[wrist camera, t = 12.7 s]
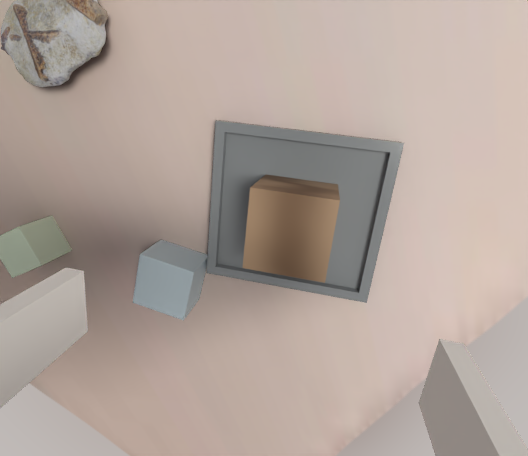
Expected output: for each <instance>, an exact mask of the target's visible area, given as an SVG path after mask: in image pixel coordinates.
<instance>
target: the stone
mask: <svg viewBox="0 0 528 456" xmlns="http://www.w3.org/2000/svg"><path fill="white" fill-rule="evenodd" d="M107 18H108V17H107V12H106V10H105V9H103V8H102V7H101V6H100V5H99V3H98V1H97V0H16V1H15V2H13V3H12V4H11V6H10V7H9V9H8V11H7V13H6V15H5V18H4V20H3V24H2V28H1V44H2V47H1V49H2V50H4V51H6V53H7V54H8V55H11V57H12V59H13V60H14V63H15V66H16V68H17V70H18V71H19V73H20V74H21V75H22V76H23V77H24V79H25V80H26V81H27V82H29V83H31V84H33V85H35V86H39V87H48V86H55V85H61V84H63V83H64V82H65V81H67V80H69V79H70V75H71V73H72V72H73V71H74V70H76V69H77V68H78V67H80V66H82V65H83V64H84V63H85V62H87V61H89V60H90V59H91V58H92V57H96V56H98V55H99V54H100V52H101V49H102V47H103V46H104V44H105V41H106V31H105V22H106V20H107Z"/></svg>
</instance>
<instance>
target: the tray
mask: <svg viewBox="0 0 528 456" xmlns="http://www.w3.org/2000/svg"><path fill="white" fill-rule="evenodd" d="M403 145H404V143H402V142H396V141H388V140H379V139H371V138H363V137H354V136H346V135H337V134H329V133H321V132H312V131H304V130H296V129H287V128H279V127H271V126H262V125H254V124H246V123H237V122H229V121H221V120H216V125H215V141H214V158H213V175H212V191H211V208H210V224H209V241H208V258H207V273H210V274H215V275H221V276H226V277H231V278H237V279H242V280H247V281H253V282H258V283H263V284H269V285H274V286H280V287H285V288H290V289H296V290H301V291H306V292H312V293H317V294H323V295H328V296H333V297H339V298H344V299H349V300H355V301H360V302H366V303H367V299H368V295H369V290H370V286H371V282H372V278H373V273H374V269H375V265H376V260H377V256H378V252H379V248H380V243H381V239H382V235H383V231H384V226H385V222H386V218H387V214H388V209H389V205H390V201H391V196H392V192H393V188H394V184H395V179H396V175H397V171H398V167H399V162H400V158H401V154H402V149H403ZM266 174H267V175H274V176H281V177H288V178H296V179H303V180H310V181H317V182H325V183H332V184H338V189H339V197H340V203H339V209H338V214H337V220H336V225H335V231H334V236H333V241H332V247H331V252H330V258H329V263H328V269H327V274H326V280H325V283H323V282H318V281H312V280H306V279H301V278H295V277H290V276H284V275H278V274H273V273H267V272H262V271H256V270H251V269H245V268H243V258H244V247H245V237H246V226H247V216H248V205H249V194H250V187H251V186H253V185H254V184H255V183H256V182H257V181H259V180H260V179H261V178H262V177H263V176H265V175H266Z"/></svg>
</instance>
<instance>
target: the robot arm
mask: <svg viewBox="0 0 528 456" xmlns="http://www.w3.org/2000/svg"><path fill="white" fill-rule="evenodd" d="M87 331H88V325H87V310H86V296H85V281H84V271H82V270H77V269H71V268H64V269H62V270H61V271H59V272H57V273H55V274H53V275H52V276H50V277H48V278H46V279H45V280H43V281H41V282H39V283H37V284H36V285H34V286H32V287H30V288H29V289H27V290H25V291H23V292H21V293H20V294H18V295H16V296H14V297H13V298H11V299H9V300H7V301H5V302H4V303H2V304H0V408H1V407H2V406H3V405H5V404H6V403H7V402H8V401H9V400H10V399H11V398H13V397H14V396H15V395H16V394H17V393H18V392H19V391H20V390H22V389H23V388H24V387H25V386H26V385H27V384H28V383H30V382H31V381H32V380H33V379H34V378H35V377H36V376H38V375H39V374H40V373H41V372H42V371H43V370H44V369H45V368H47V367H48V366H49V365H50V364H51V363H52V362H53V361H55V360H56V359H57V358H58V357H59V356H60V355H61V354H63V353H64V352H65V351H66V350H67V349H68V348H69V347H70V346H72V345H73V344H74V343H75V342H76V341H77V340H78V339H80V338H81V337H82V336H83V335H84V334H85V333H86V332H87ZM419 405H420V409H421V412H422V415H423V418H424V421H425V424H426V427H427V430H428V433H429V436H430V440H431V443H432V446H433V449H434V452H435V455H436V456H528V448H527V447H526V445H525V443H524V442H523V440H522V438H521V437H520V435H519V434H518V432H517V431H516V429H515V427H514V425H513V424H512V422H511V420H510V419H509V417H508V415H507V414H506V412H505V411H504V409H503V408H502V406H501V404H500V402H499V401H498V399H497V397H496V396H495V394H494V393H493V391H492V389H491V388H490V386H489V384H488V383H487V381H486V379H485V378H484V376H483V375H482V373H481V371H480V370H479V368H478V366H477V365H476V363H475V362H474V360H473V358H472V356H471V355H470V353H469V352H468V350H467V348H466V347H465V345H464V344H463V343H458V342H452V341H447V340H442V339H439V342H438V345H437V348H436V351H435V354H434V357H433V360H432V364H431V367H430V370H429V373H428V376H427V379H426V382H425V385H424V388H423V391H422V394H421V398H420V400H419Z"/></svg>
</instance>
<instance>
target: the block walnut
mask: <svg viewBox="0 0 528 456" xmlns="http://www.w3.org/2000/svg"><path fill="white" fill-rule="evenodd" d="M339 203H340V197H339V189H338V184H332V183H325V182H317V181H310V180H303V179H296V178H288V177H281V176H274V175H267V174H266V175H265V176H263V177H262V178H261V179H260V180H259V181H257V182H256V183H255V184H254V185H253V186H251V187H250V194H249V205H248V216H247V226H246V237H245V247H244V258H243V268H245V269H251V270H256V271H262V272H267V273H273V274H278V275H284V276H290V277H295V278H301V279H306V280H312V281H318V282H323V283H325V280H326V274H327V269H328V263H329V258H330V252H331V247H332V241H333V236H334V231H335V225H336V220H337V214H338V209H339Z"/></svg>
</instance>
